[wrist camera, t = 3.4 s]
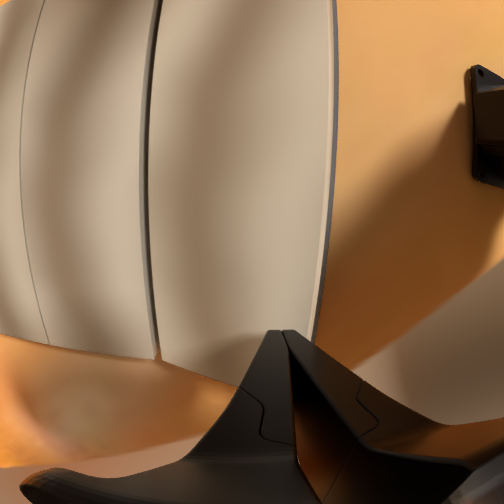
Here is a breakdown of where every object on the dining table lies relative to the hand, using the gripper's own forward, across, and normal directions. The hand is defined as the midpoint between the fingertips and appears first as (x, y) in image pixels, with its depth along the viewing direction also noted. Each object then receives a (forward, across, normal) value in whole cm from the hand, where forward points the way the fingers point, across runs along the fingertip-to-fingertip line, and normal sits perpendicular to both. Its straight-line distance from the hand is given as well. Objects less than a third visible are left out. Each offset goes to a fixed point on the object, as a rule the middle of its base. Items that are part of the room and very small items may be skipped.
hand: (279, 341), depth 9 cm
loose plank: (+3, +1, -6) cm, 7 cm away
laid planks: (+4, +11, -6) cm, 13 cm away
